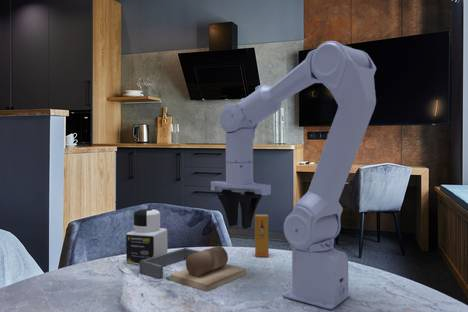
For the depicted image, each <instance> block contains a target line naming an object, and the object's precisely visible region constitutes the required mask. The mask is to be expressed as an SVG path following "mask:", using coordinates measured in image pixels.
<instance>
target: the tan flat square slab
mask: <svg viewBox="0 0 468 312" xmlns="http://www.w3.org/2000/svg"><path fill="white" fill-rule="evenodd" d="M246 273H247V270H246V268H243V267H239V266H236V265H235V266H234V265H231V264H226V265H225V266H223V267H220V268H218V269H215V270H212V271H210V272H207V273H204V274H202V275H199V276H196V277H195V276H192V275H191V274H190V273H189V272H188V270H187V268H185V269H182V270H179V271H176V272H173V273H170V275H169V276H166V277H165V279H166V280H169V281H172V282H175V283H179V284H181V285H184V286H188V287H192V288H195V289H197V290H198V289H199V290H201V291H204V292H208V291H211V290H214V289H215V288H218V287H221V286H224V285H225V284H228V283H230V282H232V281H234V280H237V279H238V278H241V277H243V276H246V275H247V274H246Z"/></svg>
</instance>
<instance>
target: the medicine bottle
mask: <svg viewBox="0 0 468 312" xmlns="http://www.w3.org/2000/svg"><path fill="white" fill-rule="evenodd" d="M133 229H134V230H131V231H128V232H126V234H125V237H126V238H125V239H126V241H125V242H126V244H125V246H126V250H125V251H126V256H125V257H126V263H127V264H129V265H130V264H131V265H139V261H141V260H144V259H148V258H151V257H155V256H158V255H162V254H165V253H168V229H167V228H163V227H161V212H160V211H159V210H158V209H153V208H144V209H143V208H142V209H138V210H136V211H135V212H134V213H133Z"/></svg>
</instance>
